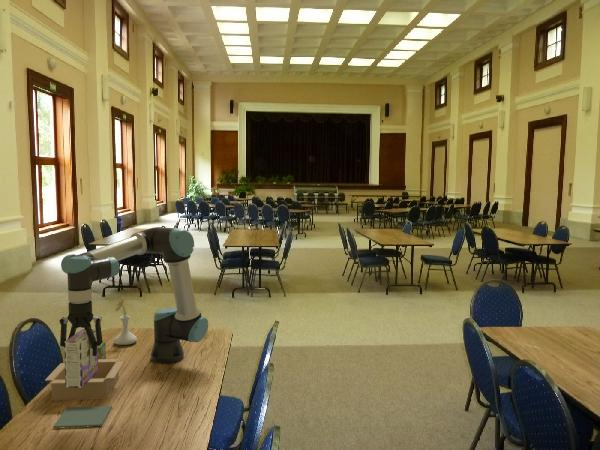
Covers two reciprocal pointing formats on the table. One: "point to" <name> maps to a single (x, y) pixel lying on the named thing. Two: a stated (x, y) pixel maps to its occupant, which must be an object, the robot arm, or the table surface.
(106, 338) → the table surface
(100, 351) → the chalk box
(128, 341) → the flower in vase
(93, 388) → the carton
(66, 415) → the mat
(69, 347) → the candy box
